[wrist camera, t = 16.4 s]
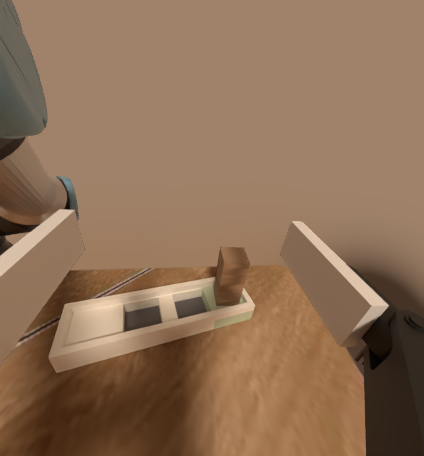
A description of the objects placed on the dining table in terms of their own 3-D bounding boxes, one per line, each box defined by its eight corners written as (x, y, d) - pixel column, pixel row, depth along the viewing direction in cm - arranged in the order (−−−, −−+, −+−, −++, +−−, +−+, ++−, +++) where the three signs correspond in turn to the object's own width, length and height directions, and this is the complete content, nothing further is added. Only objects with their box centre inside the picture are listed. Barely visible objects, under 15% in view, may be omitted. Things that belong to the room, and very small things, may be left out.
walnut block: (216, 305, 43) (224, 262, 37) (213, 288, 47) (220, 247, 41) (238, 305, 43) (250, 263, 37) (234, 288, 48) (243, 247, 42)
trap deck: (56, 373, 32) (48, 358, 29) (70, 318, 40) (64, 303, 37) (250, 318, 44) (255, 305, 42) (231, 286, 52) (234, 273, 50)
